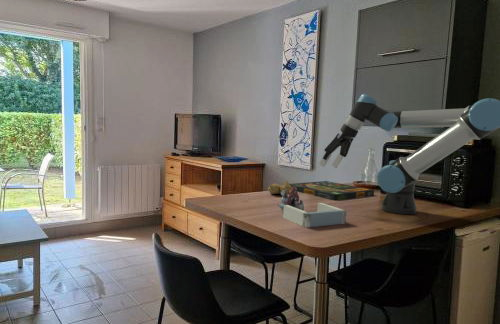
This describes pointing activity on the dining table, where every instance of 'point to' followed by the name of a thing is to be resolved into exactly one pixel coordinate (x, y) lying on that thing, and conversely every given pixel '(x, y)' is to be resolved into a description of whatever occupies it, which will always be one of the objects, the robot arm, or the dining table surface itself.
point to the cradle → (315, 216)
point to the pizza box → (332, 190)
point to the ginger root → (280, 188)
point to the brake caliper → (291, 200)
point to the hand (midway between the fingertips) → (327, 166)
